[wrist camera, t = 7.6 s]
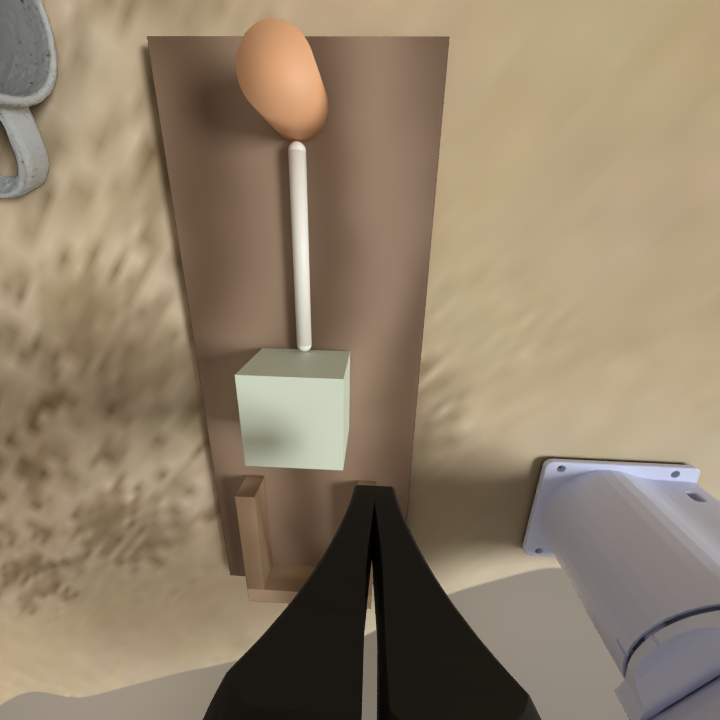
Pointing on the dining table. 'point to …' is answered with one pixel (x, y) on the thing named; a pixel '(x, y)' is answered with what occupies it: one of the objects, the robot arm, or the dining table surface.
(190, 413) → the dining table surface
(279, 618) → the robot arm
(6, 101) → the ceramic mug
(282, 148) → the board
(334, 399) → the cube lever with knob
